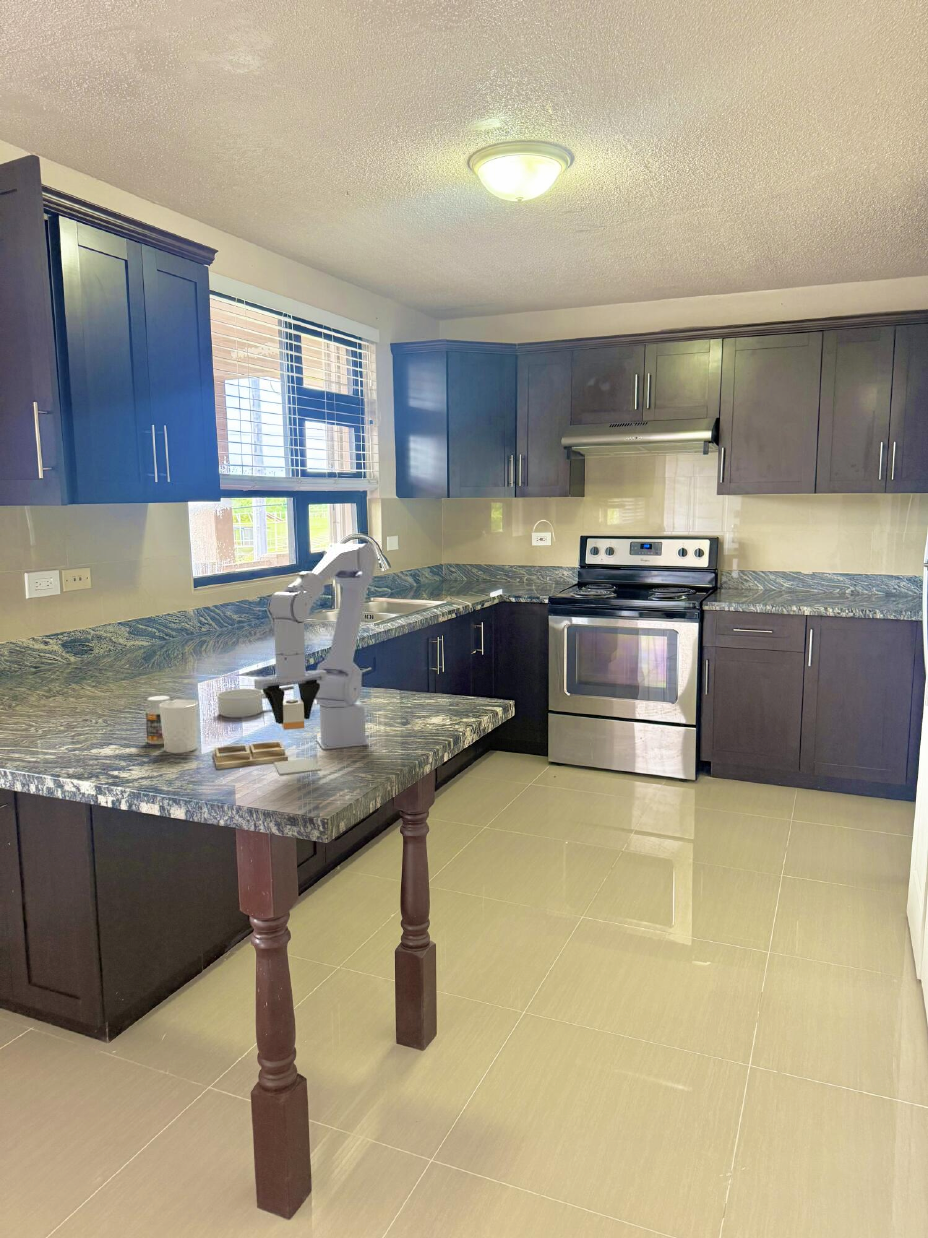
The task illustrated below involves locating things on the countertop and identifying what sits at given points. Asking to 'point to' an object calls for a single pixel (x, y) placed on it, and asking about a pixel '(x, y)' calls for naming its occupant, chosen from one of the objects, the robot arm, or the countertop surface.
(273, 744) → the socket block
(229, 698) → the saucepan
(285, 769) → the mat
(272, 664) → the countertop surface
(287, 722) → the cube with grey knob
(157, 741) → the pill bottle
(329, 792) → the countertop surface
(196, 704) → the white cup
